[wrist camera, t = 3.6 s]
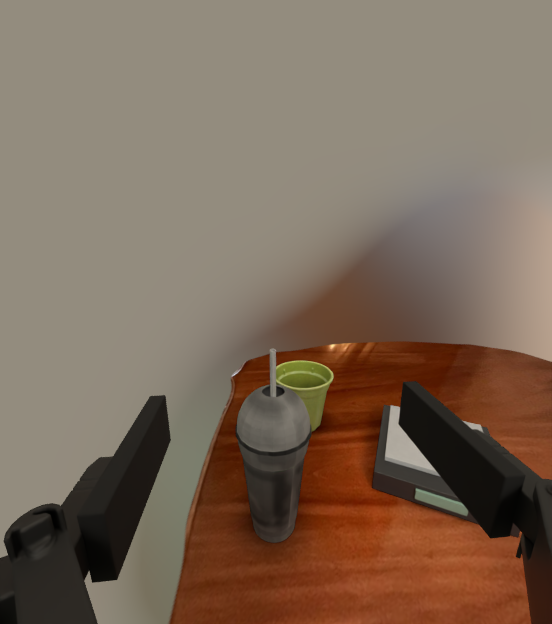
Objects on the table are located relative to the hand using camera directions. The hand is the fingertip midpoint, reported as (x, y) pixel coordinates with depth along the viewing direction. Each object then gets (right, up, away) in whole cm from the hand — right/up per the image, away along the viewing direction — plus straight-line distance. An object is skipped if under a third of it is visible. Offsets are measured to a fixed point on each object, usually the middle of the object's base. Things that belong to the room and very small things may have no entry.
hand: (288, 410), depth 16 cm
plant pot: (+3, -13, +31) cm, 33 cm away
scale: (+20, -15, +22) cm, 33 cm away
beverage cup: (-1, -17, +15) cm, 22 cm away
